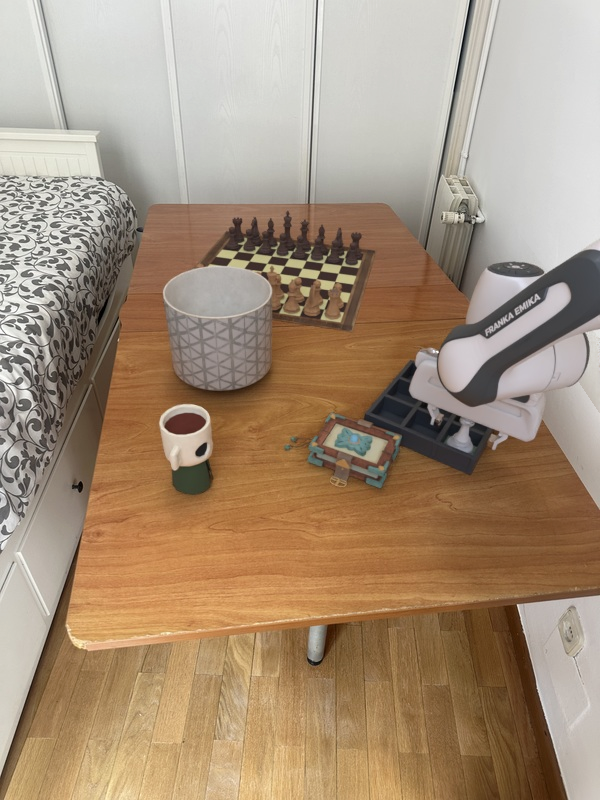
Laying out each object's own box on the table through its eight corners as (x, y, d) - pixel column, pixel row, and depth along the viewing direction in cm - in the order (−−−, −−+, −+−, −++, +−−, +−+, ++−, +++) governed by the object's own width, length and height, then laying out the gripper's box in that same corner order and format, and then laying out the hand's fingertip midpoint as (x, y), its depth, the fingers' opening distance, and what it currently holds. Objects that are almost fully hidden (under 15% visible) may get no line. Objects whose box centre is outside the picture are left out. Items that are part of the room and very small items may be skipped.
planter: (272, 403, 99) (273, 317, 88) (168, 404, 98) (155, 317, 86) (271, 345, 114) (271, 266, 102) (180, 345, 112) (170, 265, 101)
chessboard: (162, 302, 126) (156, 261, 119) (226, 231, 160) (224, 195, 153) (352, 332, 119) (357, 289, 112) (376, 250, 153) (381, 214, 147)
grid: (505, 410, 100) (510, 395, 98) (470, 475, 87) (476, 460, 85) (407, 374, 108) (410, 359, 105) (362, 428, 95) (364, 413, 92)
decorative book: (307, 415, 97) (309, 394, 94) (401, 447, 91) (406, 425, 88) (273, 463, 87) (273, 441, 84) (375, 502, 82) (380, 480, 79)
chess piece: (472, 445, 91) (487, 399, 85) (470, 462, 88) (486, 417, 82) (446, 439, 92) (459, 393, 86) (443, 456, 89) (456, 410, 83)
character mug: (202, 513, 79) (195, 450, 71) (157, 504, 80) (144, 441, 72) (225, 461, 87) (221, 399, 79) (184, 453, 88) (175, 392, 80)
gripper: (410, 353, 81) (397, 421, 90) (549, 402, 73) (519, 472, 82) (426, 334, 85) (412, 401, 94) (559, 379, 77) (530, 448, 86)
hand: (463, 435), depth 88 cm, fingers open, 8 cm apart
